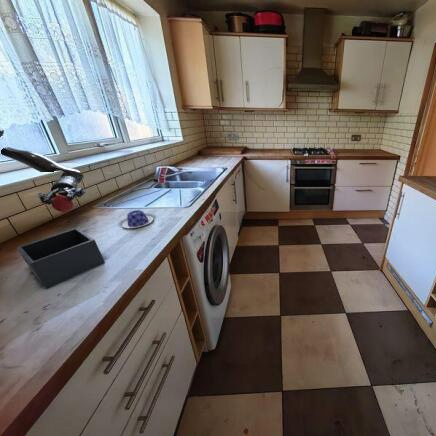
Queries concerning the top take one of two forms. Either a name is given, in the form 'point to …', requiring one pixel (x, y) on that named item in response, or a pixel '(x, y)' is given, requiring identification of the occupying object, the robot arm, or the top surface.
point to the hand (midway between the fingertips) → (58, 200)
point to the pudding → (137, 219)
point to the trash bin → (61, 256)
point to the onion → (62, 203)
